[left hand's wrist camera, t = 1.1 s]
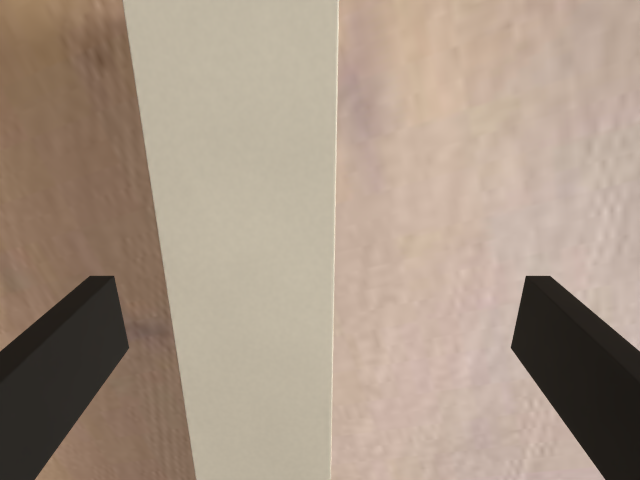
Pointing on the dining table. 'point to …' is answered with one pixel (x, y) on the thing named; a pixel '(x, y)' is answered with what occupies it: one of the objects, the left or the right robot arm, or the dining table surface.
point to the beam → (245, 221)
